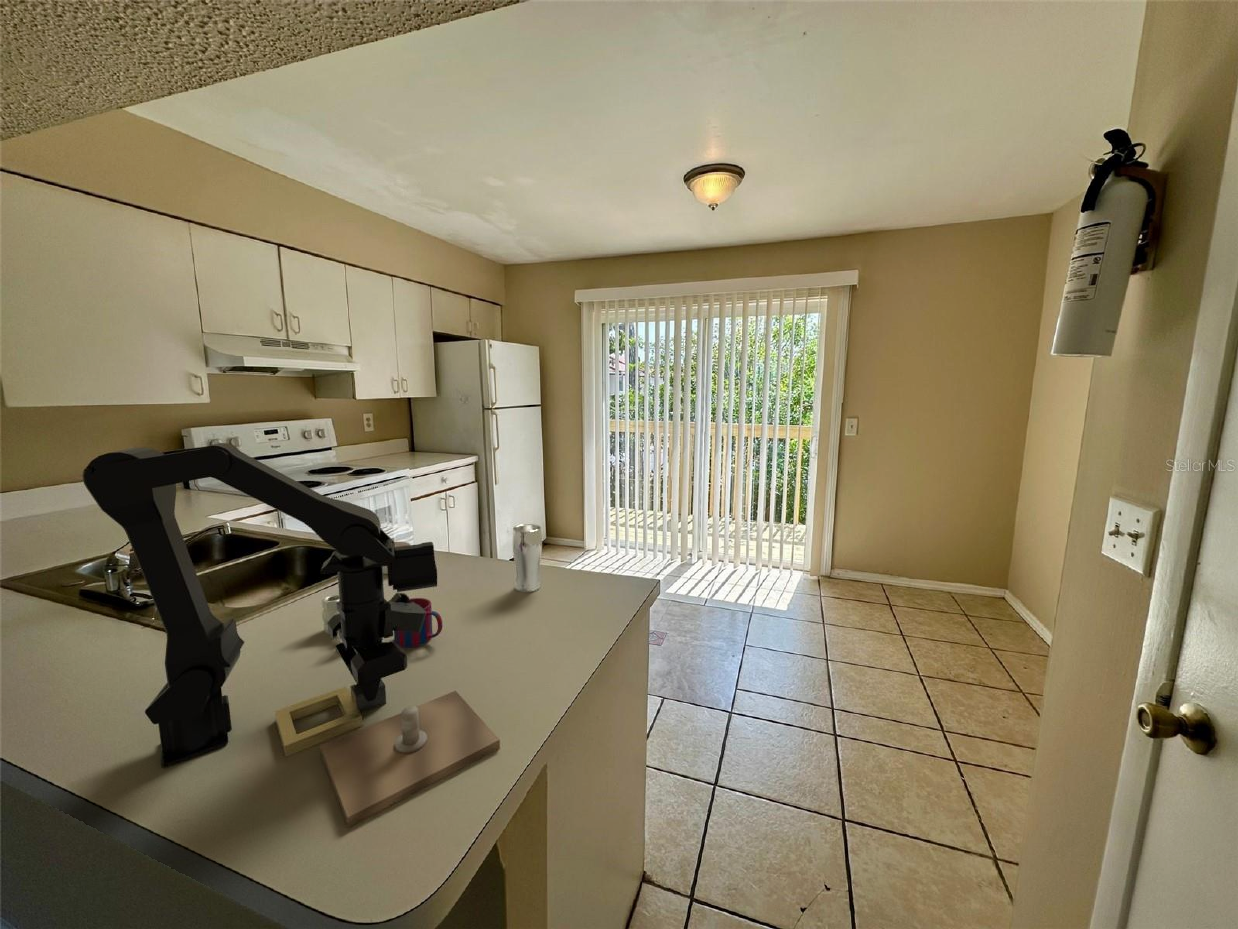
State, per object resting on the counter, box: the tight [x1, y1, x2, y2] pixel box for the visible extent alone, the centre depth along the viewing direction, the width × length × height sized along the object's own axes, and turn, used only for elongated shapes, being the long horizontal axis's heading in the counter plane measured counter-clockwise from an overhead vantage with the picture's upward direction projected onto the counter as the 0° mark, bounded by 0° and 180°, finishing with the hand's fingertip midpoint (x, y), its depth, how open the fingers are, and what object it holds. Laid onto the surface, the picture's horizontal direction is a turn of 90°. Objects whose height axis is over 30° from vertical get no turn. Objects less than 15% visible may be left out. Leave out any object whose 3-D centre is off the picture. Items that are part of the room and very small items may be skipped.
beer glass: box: [511, 523, 543, 593], centre depth 115 cm, size 7×7×15 cm
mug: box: [393, 597, 443, 649], centre depth 90 cm, size 7×10×7 cm
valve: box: [321, 594, 340, 634], centre depth 92 cm, size 7×7×12 cm
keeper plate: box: [320, 690, 501, 828], centre depth 62 cm, size 18×14×6 cm
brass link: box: [274, 679, 387, 757], centre depth 69 cm, size 13×9×3 cm
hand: (368, 694), depth 72 cm, fingers closed on brass link, 3 cm apart
